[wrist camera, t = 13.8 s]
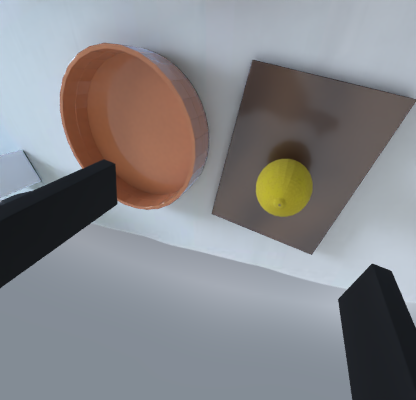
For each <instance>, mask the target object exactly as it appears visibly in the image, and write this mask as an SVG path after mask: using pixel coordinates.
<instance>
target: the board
mask: <svg viewBox="0 0 416 400" xmlns="http://www.w3.org/2000/svg"><path fill="white" fill-rule="evenodd" d="M415 102H416V99H413V98H409V97H405V96H400V95H396V94H392V93H388V92H384V91H380V90H376V89H372V88H367V87H363V86H359V85H355V84H351V83H347V82H343V81H338V80H334V79H330V78H326V77H322V76H318V75H314V74H310V73H305V72H301V71H297V70H293V69H289V68H285V67H281V66H277V65H272V64H268V63H264V62H260V61H256V60H252V63H251V67H250V71H249V75H248V78H247V82H246V86H245V90H244V94H243V97H242V101H241V105H240V109H239V112H238V116H237V120H236V124H235V128H234V131H233V135H232V139H231V143H230V146H229V150H228V154H227V158H226V161H225V165H224V169H223V173H222V177H221V180H220V184H219V188H218V192H217V195H216V199H215V203H214V207H213V211H212V214H213V215H216V216H218V217H221V218H223V219H226V220H228V221H230V222H233V223H235V224H238V225H240V226H243V227H245V228H248V229H250V230H252V231H255V232H257V233H260V234H262V235H265V236H267V237H270V238H272V239H274V240H277V241H279V242H282V243H284V244H287V245H289V246H292V247H294V248H296V249H299V250H301V251H304V252H306V253H309V254H311V255H312V254H313V252H314V251H315V249H316V248H317V246H318V245H319V243H320V242H321V240H322V239H323V237H324V236H325V234H326V233H327V232H328V230H329V229H330V227H331V226H332V224H333V223H334V221H335V220H336V218H337V217H338V215H339V214H340V212H341V211H342V209H343V208H344V206H345V205H346V204H347V202H348V201H349V199H350V198H351V196H352V195H353V193H354V192H355V190H356V189H357V187H358V186H359V184H360V183H361V181H362V180H363V179H364V177H365V176H366V174H367V173H368V171H369V170H370V168H371V167H372V165H373V164H374V162H375V161H376V159H377V158H378V156H379V155H380V153H381V152H382V151H383V149H384V148H385V146H386V145H387V143H388V142H389V140H390V139H391V137H392V136H393V134H394V133H395V131H396V130H397V128H398V127H399V126H400V124H401V123H402V121H403V120H404V118H405V117H406V115H407V114H408V112H409V111H410V109H411V108H412V106H413V105H414V103H415ZM279 159H292V160H296V161H298V162H300V163H301V164H302V165H304V166H305V167H306V168H307V170H308V171H309V173H310V175H311V178H312V182H313V191H312V194H311V197H310V200H309V202H308V203H307V204H306V206H305V207H304V208H303V209H302V210H301V211H300V212H298V213H296V214H294V215H292V216H287V217H279V216H275V215H272V214H270V213H268V212H267V211H265V210H264V209H263V208H262V207H261V205H260V203H259V201H258V199H257V195H256V183H257V180H258V177H259V174H260V173H261V171H262V170H263V169H264V168H265V167H266V166H267V165H268V164H269V163H271V162H273V161H275V160H279Z"/></svg>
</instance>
